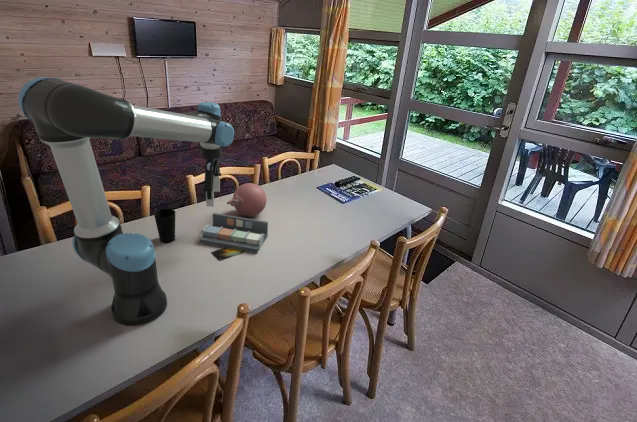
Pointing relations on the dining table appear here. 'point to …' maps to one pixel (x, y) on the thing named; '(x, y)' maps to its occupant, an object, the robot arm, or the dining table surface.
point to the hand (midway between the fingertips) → (213, 198)
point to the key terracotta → (225, 233)
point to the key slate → (211, 231)
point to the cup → (165, 224)
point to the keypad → (238, 225)
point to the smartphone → (226, 253)
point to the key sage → (239, 236)
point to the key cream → (253, 238)
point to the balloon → (249, 199)
